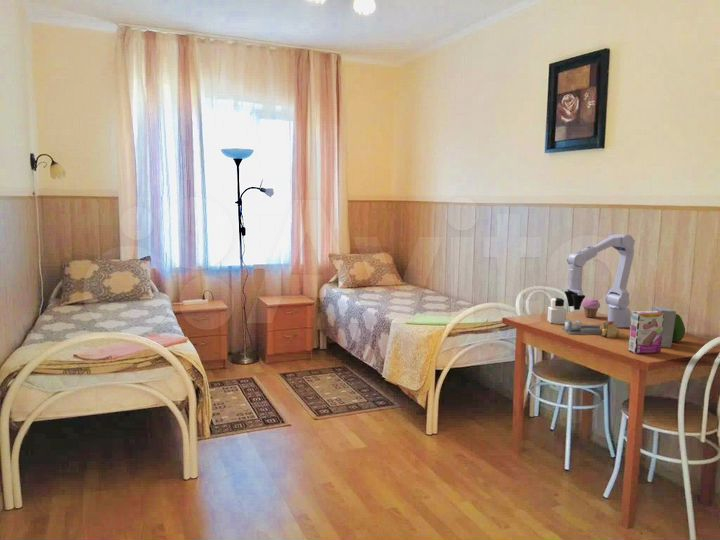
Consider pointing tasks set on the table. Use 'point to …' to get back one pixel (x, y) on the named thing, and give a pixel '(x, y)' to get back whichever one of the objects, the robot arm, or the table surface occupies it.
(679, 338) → the avocado
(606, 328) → the valve
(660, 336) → the candy bar box
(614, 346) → the table surface
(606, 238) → the robot arm
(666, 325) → the skincare box
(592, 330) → the grey piece
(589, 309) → the cupcake
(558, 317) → the medicine bottle
